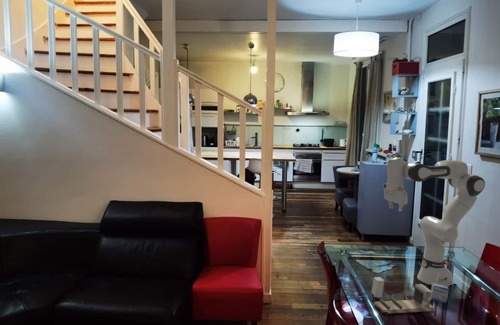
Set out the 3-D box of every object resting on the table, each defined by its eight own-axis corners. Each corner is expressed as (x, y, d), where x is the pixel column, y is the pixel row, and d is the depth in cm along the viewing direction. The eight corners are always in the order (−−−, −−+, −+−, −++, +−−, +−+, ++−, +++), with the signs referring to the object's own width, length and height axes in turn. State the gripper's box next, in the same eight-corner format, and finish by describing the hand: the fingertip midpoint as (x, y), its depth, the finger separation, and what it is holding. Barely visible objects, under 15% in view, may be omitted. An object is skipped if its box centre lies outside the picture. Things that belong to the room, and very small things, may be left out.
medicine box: (430, 300, 203) (433, 285, 202) (429, 296, 207) (432, 282, 206) (446, 303, 200) (449, 289, 199) (445, 299, 204) (447, 285, 203)
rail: (423, 302, 199) (426, 283, 197) (433, 310, 192) (436, 291, 190) (373, 305, 193) (376, 285, 191) (382, 313, 185) (385, 293, 183)
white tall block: (378, 293, 205) (380, 277, 204) (382, 297, 201) (384, 280, 200) (371, 294, 204) (373, 277, 203) (375, 297, 200) (377, 280, 199)
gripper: (410, 188, 201) (411, 212, 202) (391, 183, 221) (391, 206, 222) (400, 188, 200) (400, 213, 201) (381, 184, 220) (381, 207, 221)
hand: (395, 209), depth 212 cm, fingers open, 8 cm apart
